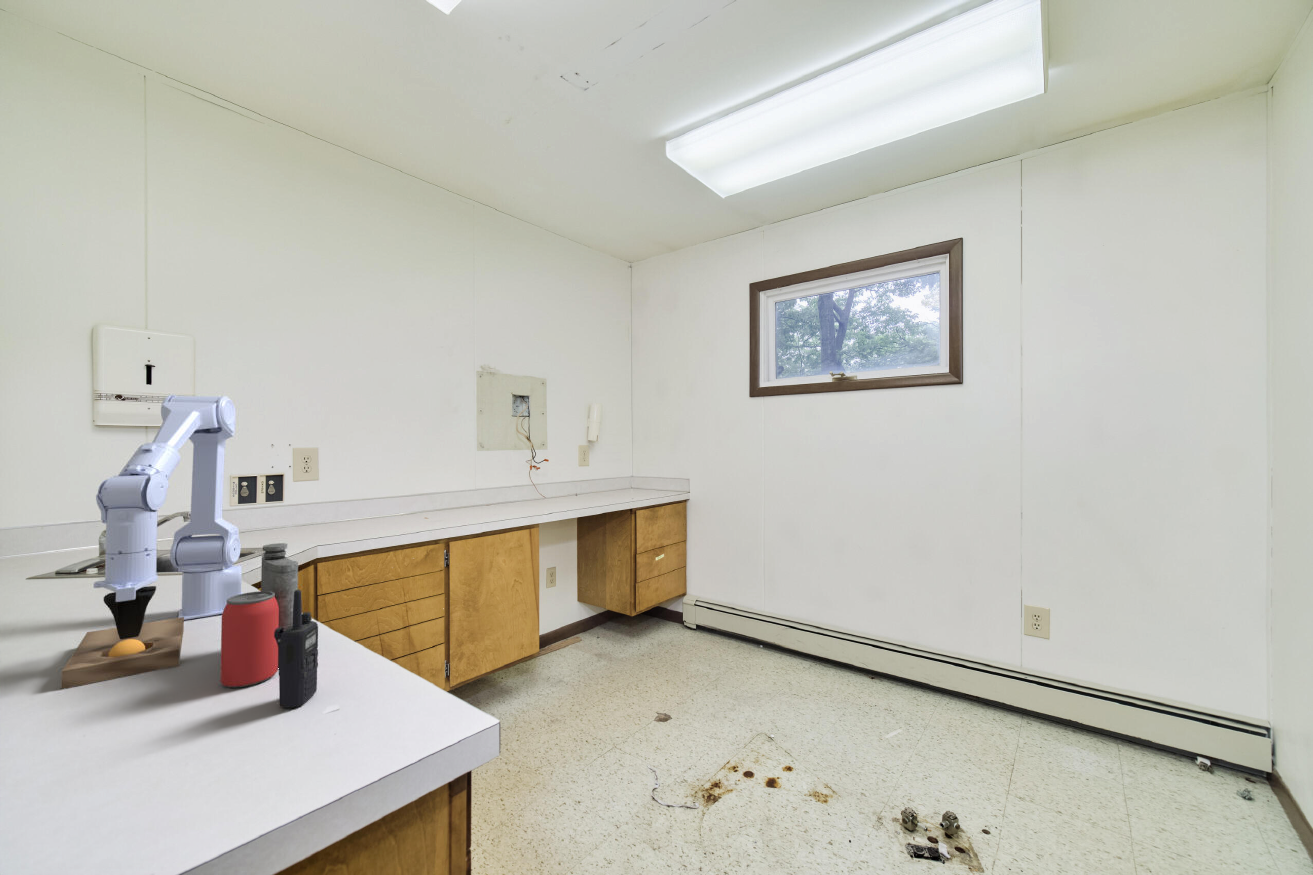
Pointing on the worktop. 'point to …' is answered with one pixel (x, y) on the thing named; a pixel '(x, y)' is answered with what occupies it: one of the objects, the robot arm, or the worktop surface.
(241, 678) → the beer can
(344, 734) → the worktop surface
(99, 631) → the hole board
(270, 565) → the flask
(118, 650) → the ball
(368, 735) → the worktop surface
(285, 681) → the two-way radio
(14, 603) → the worktop surface
